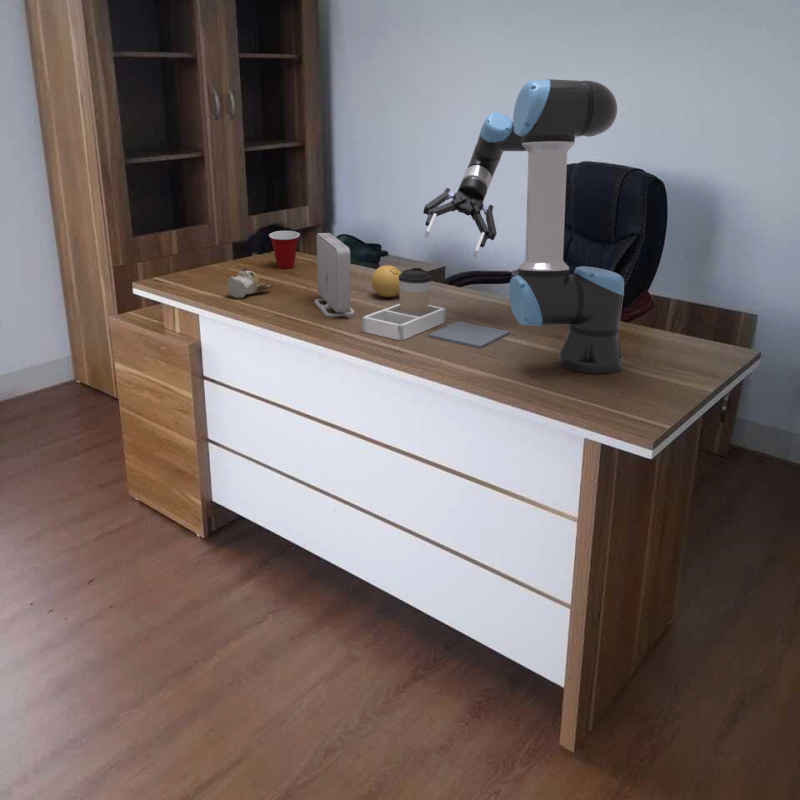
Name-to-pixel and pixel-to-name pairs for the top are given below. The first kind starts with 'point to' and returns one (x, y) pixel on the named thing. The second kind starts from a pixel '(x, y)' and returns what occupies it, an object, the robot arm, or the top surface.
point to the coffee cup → (414, 291)
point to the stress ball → (386, 281)
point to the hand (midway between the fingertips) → (450, 244)
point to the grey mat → (469, 334)
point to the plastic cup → (284, 248)
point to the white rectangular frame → (401, 322)
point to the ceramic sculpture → (245, 284)
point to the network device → (333, 275)
